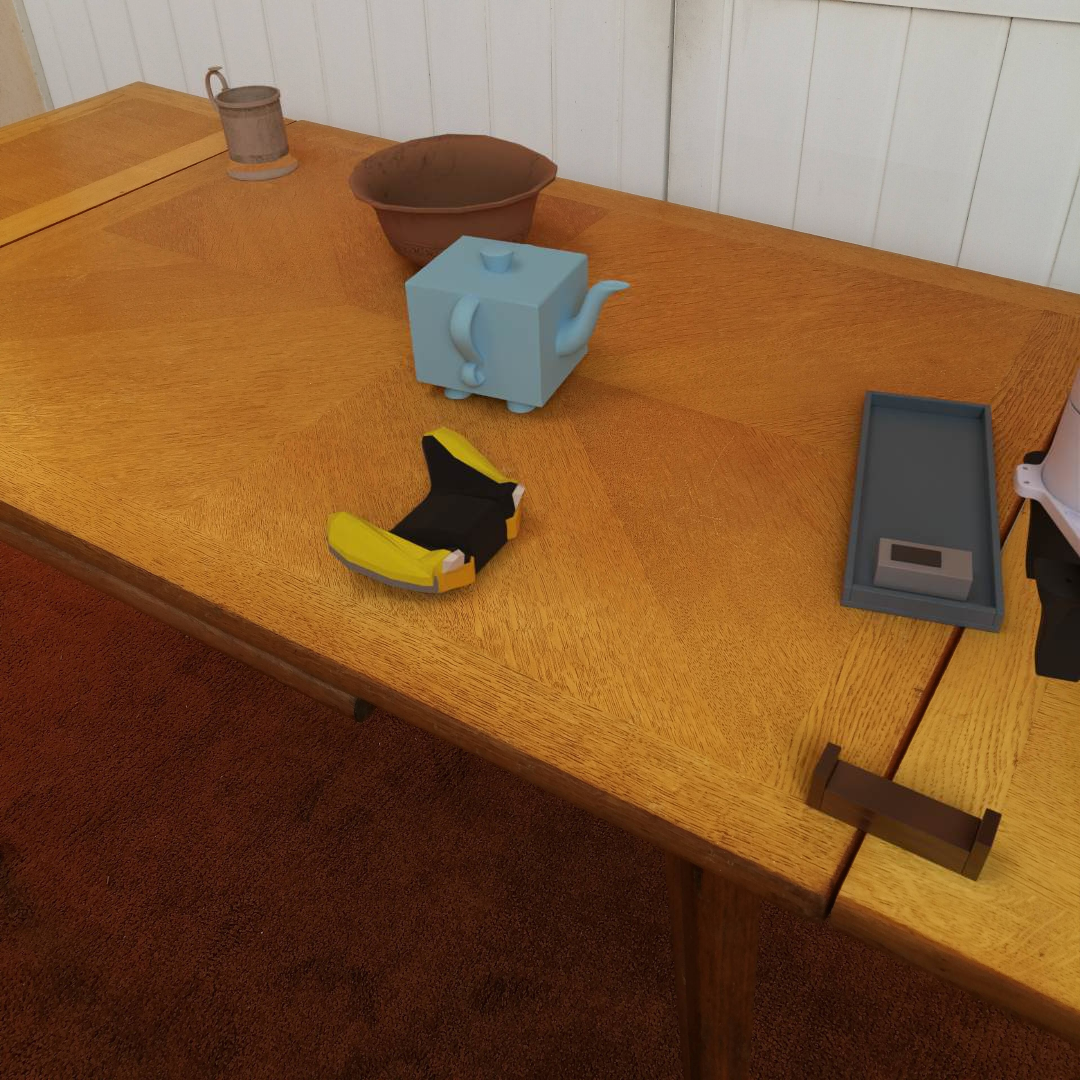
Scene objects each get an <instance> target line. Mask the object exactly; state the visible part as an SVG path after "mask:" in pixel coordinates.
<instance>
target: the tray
mask: <svg viewBox="0 0 1080 1080" xmlns="http://www.w3.org/2000/svg"><path fill="white" fill-rule="evenodd" d="M992 418H993V417H992V407H991V404H983V403H977V402H968V401H961V400H960V401H959V400H951V399H944V398H935V397H927V396H921V395H911V394H902V393H896V392H895V393H894V392H886V391H878V390H869V389H865V394H864V399H863V403H862V409H861V419H860V428H859V437H858V445H857V454H856V464H855V470H854V481H853V488H852V489H853V490H852V497H851V507H850V517H849V525H848V533H847V543H846V551H845V552H846V553H845V561H844V570H843V578H842V586H841V595H840V606H843V607H848V608H854V609H859V610H865V611H870V612H876V613H882V614H886V615H887V614H888V615H892V616H893V615H894V616H900V617H905V618H911V619H916V620H922V621H927V622H928V621H929V622H933V623H939V624H945V625H949V626H950V625H952V626H955V627H956V626H957V627H962V628H968V629H973V630H980V631H985V632H991V633H996V634H997V633H998V634H999V631H1000V629H1001V626H1002V623H1003V620H1004V619H1005V615H1006V613H1005V598H1004V597H1005V596H1004V584H1003V583H1004V582H1003V570H1002V569H1003V568H1002V567H1003V565H1002V554H1001V540H1000V524H999V523H1000V522H999V508H998V496H997V494H998V492H997V478H996V465H995V464H996V463H995V450H994V435H993V434H994V433H993V421H992ZM880 538H886V539H893V540H899V541H905V542H912V543H918V544H925V545H931V546H937V547H944V548H950V549H956V550H963V551H969V552H972V574H973V581H972V584H971V587H970V590H969V593H968V596H967V599H966V601H965V602H964V601H958V600H952V599H946V598H941V597H935V596H929V595H923V594H917V593H911V592H905V591H899V590H893V589H887V588H881V587H875V586H873V576H874V564H875V556H876V552H877V548H878V544H879V539H880Z"/></svg>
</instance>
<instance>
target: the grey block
mask: <svg viewBox="0 0 1080 1080" xmlns="http://www.w3.org/2000/svg"><path fill="white" fill-rule="evenodd" d="M972 581H973V574H972V552H969V551H963V550H956V549H950V548H944V547H937V546H931V545H925V544H918V543H912V542H905V541H899V540H893V539H886V538H880V539H879V544H878V548H877V552H876V556H875V564H874V576H873V586H875V587H881V588H887V589H893V590H899V591H905V592H911V593H917V594H923V595H929V596H935V597H941V598H946V599H952V600H958V601H964V602H965V601H966V599H967V596H968V593H969V590H970V587H971V584H972Z"/></svg>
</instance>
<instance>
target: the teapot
mask: <svg viewBox="0 0 1080 1080" xmlns="http://www.w3.org/2000/svg"><path fill="white" fill-rule="evenodd" d="M588 265H589V256H588V255H587V254H586V253H580V252H575V251H567V250H563V249H562V250H561V249H555V248H548V247H542V246H536V245H533V244H529V243H523V244H517V243H511V242H504V241H497V240H491V239H484V238H477V237H470V236H462V237H461V238H460V239H458V240H457V241H456V242H455V243H453V244H452V245H451V246H450V247H448V248H447V249H446V250H445V251H443V252H442V253H441V254H440V255H438V256H437V257H436V258H435V259H433V260H432V261H431V262H430V263H429V264H427V265H426V266H425V267H424V268H423V269H421V268H420V270H419V271H418V272H416V273H415V274H414V275H412V276H411V277H410V278H409V279H408V280H406V281H405V283H404V289H405V297H406V304H407V305H406V306H407V313H408V320H409V328H410V329H409V330H410V335H411V336H410V338H411V345H412V351H413V361H414V369H415V376H416V377H415V378H416V382H420V383H425V384H429V385H435V386H439V387H442V388H445V389H444V391H443V394H444V396H445V397H447V398H448V399H451V400H462V399H466V398H468V397H470V396H471V395H472V394H476V395H481V396H486V397H491V398H495V399H500V400H504V401H506V408H507V409H508V410H509V411H510V412H513V413H517V414H524V413H525V414H526V413H530V412H531V411H533V410H535V408H536V407H537V408H543V407H544V406H545V405H546V403H547V402H548V400H550V398H551V397H552V396H553V395H554V394H555V392H556V391H557V390H558V389H559V387H560V386H561V385H562V384H563V382H565V380H566V379H567V378H568V376H570V374H571V373H572V371H573V370H574V369H575V368H576V367H577V365H578V364H579V363H580V362H581V361H582V359H583V358H584V357H585V356H586V354H588V352H589V341H590V339H591V338H592V336H593V334H594V332H595V330H596V327H597V324H598V320H599V317H600V314H601V311H602V308H603V306H604V304H605V302H606V301H607V299H608V298H609V297H611V296H612V295H613V294H615V293H618V292H620V291H624V290H626V289H628V288H630V287H631V284H630V283H628V282H626V281H621V280H613V279H612V280H611V279H609V280H601V281H598V282H596V283H595V284H594V285H592V286H591V287H590V289H589V266H588Z"/></svg>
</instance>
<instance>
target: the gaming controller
mask: <svg viewBox="0 0 1080 1080" xmlns="http://www.w3.org/2000/svg"><path fill="white" fill-rule="evenodd" d="M421 450H422V454H423V457H424V462H425V466H426V470H427V474H428V478H429V483H430V484H429V485H430V490H429V492H428V493H427V495H426V496H425V498H423V499H422V501H420V503H418V504H417V506H416V507H414V508H413V509H412V510H411V511H410V512H409V513H408V514H407V515H405V516H404V518H402V519H401V521H399V522H398V523H397V524H396V525H395V526H393V528H392V529H390V530H385V529H383V528H380V527H378V526H376V524H373V523H371V522H370V521H368V520H366V519H364V518H362V517H359V516H358V515H355V514H353V513H350V512H349V511H347V510H342V511H338V512H333V513H329V515H328V518H327V522H326V523H327V525H326V541H327V547H328V551H329V552H330V553H331V554H332V555H333V556H334V557H335V558H336V559H337V560H338V561H340V563H342V564H343V566H344V567H346V568H347V569H348V570H350V571H352V572H355V573H358V574H360V575H362V576H365V577H368V578H370V579H373V580H375V581H377V582H380V583H382V584H384V585H387V586H390V587H392V588H397V589H402V590H407V591H411V592H415V593H416V592H418V593H423V594H438V595H440V594H444V593H447V592H450V591H452V590H455V589H457V588H461V587H465V586H469V585H472V584H473V583H475V582H476V576H477V575H478V574H479V573H480V572H481V570H482V569H483V568H484V567H485V566H486V565H488V563H489V562H490V561H491V560H492V559H493V558H494V556H495V555H497V553H498V552H499V551H500V550H501V549H502V548H503V547H504V545H505V544H507V542H508V541H510V540H512V539H515V538H517V537H518V535H519V532H520V527H521V522H522V514H523V504H522V497H523V494H524V492H525V490H526V486H525V485H523V484H522V483H520V481H519V480H518V479H515V478H507V477H506V476H505V475H504V474H503V473H502V472H500V470H499V469H498V468H496V467H495V466H494V465H493V464H492V463H491V462H490V461H489V460H488V459H487V458H486V457H485V456H484V455H483V454H482V453H481V452H479V451H478V449H476V447H474V445H472V444H471V443H470V441H468V440H467V439H466V438H465V437H464V436H463V435H462V434H461V433H459V432H457V431H454V430H452V429H450V428H448V427H446V426H441V427H438V428H436V429H435V428H434V429H432V430H429V431H426V432H425V433H423V435H422V437H421Z"/></svg>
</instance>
